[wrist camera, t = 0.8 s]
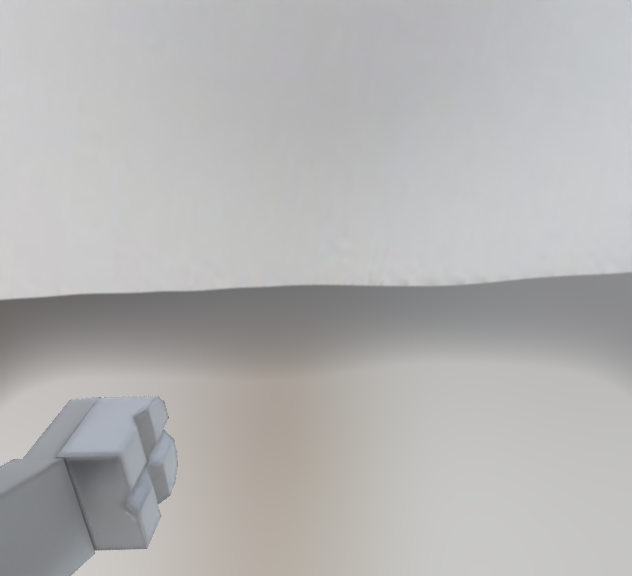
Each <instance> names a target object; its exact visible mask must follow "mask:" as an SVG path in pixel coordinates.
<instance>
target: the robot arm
mask: <svg viewBox="0 0 632 576" xmlns="http://www.w3.org/2000/svg"><path fill="white" fill-rule="evenodd" d="M168 418H169V416H168V413H167V409H166V406H165V402H164V401H163V400H162V399H161V398H160V397H104V398H101V397H91V398H76V399H73V400H70V401H69V402H68V403H67V404H66V405H65V407H64V408H63V409H62V411H61V412H60V413H59V414H58V416H57V417H56V418H55V419H54V420H53V422H52V423H51V424H50V425H49V427H48V428H47V429H46V431H45V432H44V433H43V434H42V435H41V437H40V438H39V439H38V440H37V441H36V443H35V444H34V445H33V447H32V448H31V449H30V450H29V451H28V453H27V454H26V455H25V456H24V458H23V459H13V460H11V461H9V462H7V463H6V464H4V465H2V466H0V576H71V575H72V574H73V573H74V572H75V571H76V570H78V568H80V567H81V566H82V565H83V564H84V563H85V562H86V561H87V560H88V559H89V558H91V557H92V556H93V555H94V554H95V550H123V549H147V547H148V545H149V543H150V541H151V538H152V536H153V534H154V531H155V529H156V527H157V525H158V522H159V520H160V517H161V514H160V510H159V506H158V504H159V503H161V502H162V501H163V500H165V499H166V498H167V497H169V496H170V494H171V492H172V489H173V486H174V484H175V480H176V473H177V467H178V462H177V450H176V446H175V441H174V439H173V438H172V437H171V436H170V435H169V434H168V433H167V432H166V431H165V430H164V429H163V428H164V426H165V424H166V422H167V420H168Z"/></svg>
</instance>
